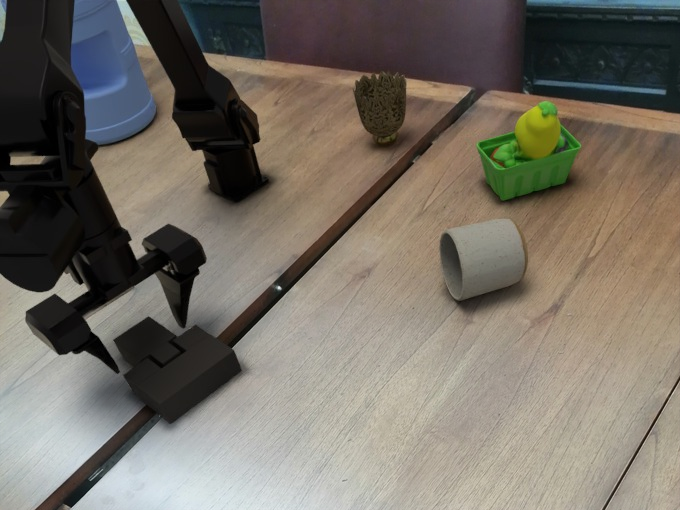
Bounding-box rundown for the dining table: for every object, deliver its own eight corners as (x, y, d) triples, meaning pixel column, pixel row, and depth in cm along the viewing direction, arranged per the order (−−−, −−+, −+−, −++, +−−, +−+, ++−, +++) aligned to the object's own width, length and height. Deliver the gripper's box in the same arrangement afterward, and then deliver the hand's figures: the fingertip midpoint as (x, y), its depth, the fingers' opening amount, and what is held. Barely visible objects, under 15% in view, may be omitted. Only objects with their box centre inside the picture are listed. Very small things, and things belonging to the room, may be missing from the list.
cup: (405, 155, 98) (400, 95, 92) (355, 155, 100) (347, 96, 93) (415, 128, 102) (410, 69, 96) (366, 128, 104) (359, 70, 97)
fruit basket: (552, 157, 94) (560, 66, 84) (583, 189, 89) (595, 96, 79) (474, 180, 93) (473, 91, 83) (501, 214, 88) (503, 123, 78)
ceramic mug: (530, 293, 78) (534, 231, 72) (463, 314, 77) (461, 254, 71) (492, 244, 84) (492, 184, 78) (429, 264, 84) (425, 204, 77)
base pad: (204, 344, 80) (195, 323, 77) (242, 370, 76) (234, 349, 74) (133, 394, 76) (122, 374, 74) (170, 424, 73) (159, 404, 70)
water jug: (86, 102, 120) (-6, -108, 97) (170, 97, 117) (96, -120, 94) (49, 149, 111) (-61, -68, 89) (139, 146, 109) (49, -80, 86)
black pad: (158, 336, 81) (148, 315, 79) (198, 364, 78) (189, 344, 75) (123, 359, 80) (112, 339, 77) (163, 390, 76) (152, 370, 74)
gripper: (121, 154, 72) (174, 279, 85) (-40, 243, 66) (44, 365, 79) (183, 186, 67) (230, 315, 80) (15, 287, 61) (95, 409, 73)
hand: (150, 348), depth 78 cm, fingers open, 9 cm apart
